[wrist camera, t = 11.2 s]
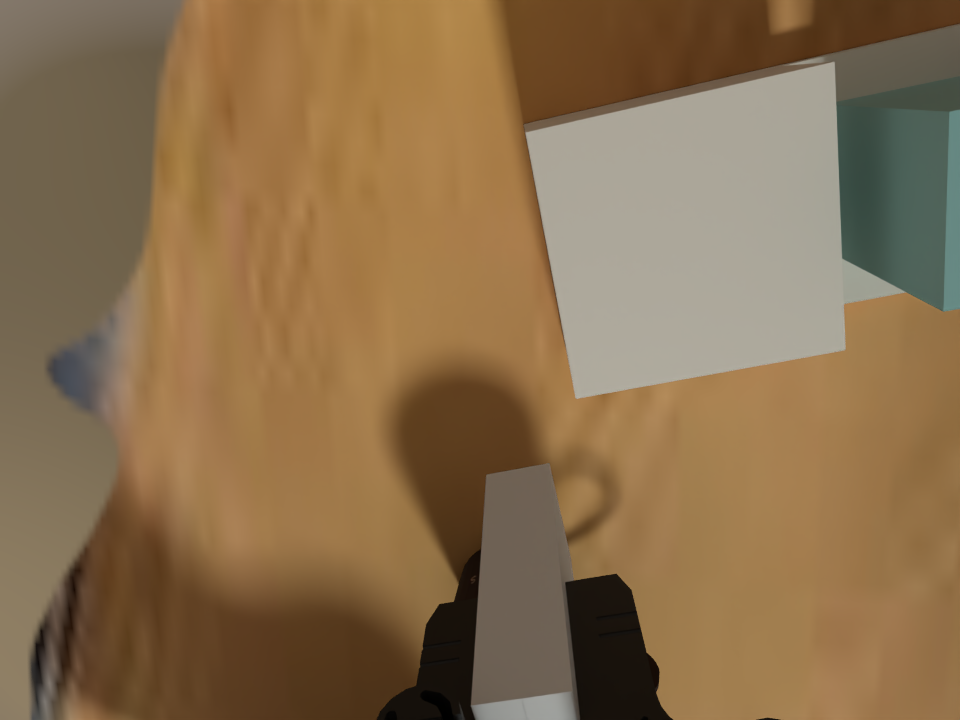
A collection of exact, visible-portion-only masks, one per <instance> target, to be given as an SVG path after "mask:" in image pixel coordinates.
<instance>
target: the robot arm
mask: <svg viewBox="0 0 960 720" xmlns="http://www.w3.org/2000/svg"><path fill="white" fill-rule="evenodd" d="M377 720H673V719H672V718H670V717H669V716H668V715H667V713H666V712H665V711H664V709H663V708H662V707H661V705H660V702H659V700H658V697H657V694H656V690H655V686H654V682H653V678H652V673H651V669H650V665H649V661H648V657H647V653H646V648H645V644H644V640H643V636H642V632H641V628H640V624H639V619H638V615H637V611H636V607H635V603H634V599H633V595H632V590H631V589H630V588H629V587H628V586H627V585H626V584H625V583H624V582H623V581H622V579H621V578H620V577H619V576H618V575H617V574H612V575H606V576H600V577H593V578H587V579H581V580H575V581H574V578H573V570H572V563H571V557H570V552H569V548H568V543H567V539H566V535H565V530H564V526H563V521H562V517H561V512H560V508H559V504H558V499H557V495H556V490H555V486H554V481H553V477H552V473H551V468H550V464H549V463H547V464H542V465H536V466H531V467H526V468H520V469H515V470H509V471H504V472H498V473H493V474H487V475H486V486H485V501H484V516H483V531H482V546H481V561H480V576H479V592H478V598H475V599H469V600H462V601H456V602H450V603H444V604H439V606H438V607H437V609H436V610H435V612H434V613H433V615H432V616H431V618H430V619H429V621H428V623H427V624H426V629H425V635H424V642H423V650H422V654H421V660H420V668H419V673H418V679H417V685H416V686H415V687H412V688H408V689H406V690H404V691H403V692H401V693H400V694H398V695H396V696H395V697H393V698H392V699H391V700H390V701H389V702H388V703H387V704H386V706H385V707H384V708H383V709H382V710H381V711H380V713H379V716H378V718H377ZM758 720H779V719H772V718H764V719H758Z"/></svg>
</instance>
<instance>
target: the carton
mask: <svg viewBox="0 0 960 720" xmlns="http://www.w3.org/2000/svg"><path fill="white" fill-rule="evenodd" d="M836 110H837V137H838V164H839V191H840V218H841V245H842V259H844V260H846V261H848V262H850V263H851V264H853V265H855V266H857V267H859V268H861V269H863V270H865V271H867V272H869V273H871V274H873V275H874V276H876V277H878V278H880V279H882V280H884V281H886V282H888V283H890V284H892V285H894V286H895V287H897V288H899V289H901V290H903V291H905V292H907V293H909V294H911V295H913V296H915V297H917V298H918V299H920V300H922V301H924V302H926V303H928V304H930V305H932V306H934V307H936V308H938V309H940V310H941V311H943V312H944V311H949V310H955V309H960V76H958V77H953V78H948V79H944V80H939V81H934V82H929V83H924V84H920V85H915V86H910V87H905V88H901V89H896V90H891V91H886V92H881V93H877V94H872V95H867V96H862V97H858V98H853V99H848V100H843V101H838V102H836Z"/></svg>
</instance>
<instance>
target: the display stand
mask: <svg viewBox="0 0 960 720" xmlns="http://www.w3.org/2000/svg"><path fill="white" fill-rule="evenodd" d="M958 76H960V24H956V25H952V26H947V27H943V28H939V29H934V30H930V31H926V32H921V33H917V34H913V35H908V36H904V37H900V38H895V39H891V40H887V41H882V42H878V43H874V44H869V45H865V46H861V47H856V48H852V49H848V50H843V51H839V52H835V53H830V54H826V55H822V56H817V57H813V58H809V59H804V60H800V61H796V62H791V63H787V64H782V65H778V66H774V67H769V68H765V69H761V70H756V71H752V72H748V73H743V74H739V75H735V76H730V77H726V78H722V79H717V80H713V81H709V82H704V83H700V84H696V85H691V86H687V87H683V88H678V89H674V90H670V91H665V92H661V93H657V94H652V95H648V96H644V97H639V98H635V99H631V100H626V101H622V102H618V103H613V104H609V105H605V106H600V107H596V108H592V109H587V110H583V111H579V112H574V113H570V114H566V115H561V116H557V117H553V118H548V119H544V120H540V121H535V122H531V123H527V124H524V130H525V135H526V140H527V146H528V151H529V156H530V161H531V167H532V172H533V177H534V183H535V188H536V193H537V198H538V204H539V209H540V214H541V220H542V225H543V230H544V235H545V241H546V246H547V251H548V257H549V262H550V267H551V272H552V278H553V283H554V288H555V294H556V299H557V304H558V309H559V315H560V320H561V325H562V331H563V336H564V341H565V346H566V351H567V356H568V362H569V367H570V372H571V377H572V382H573V387H574V392H575V397H576V399H577V398H583V397H588V396H594V395H599V394H605V393H611V392H616V391H622V390H627V389H633V388H638V387H644V386H649V385H655V384H660V383H666V382H672V381H677V380H683V379H688V378H694V377H699V376H705V375H710V374H716V373H721V372H727V371H732V370H738V369H744V368H749V367H755V366H760V365H766V364H771V363H777V362H782V361H788V360H793V359H799V358H804V357H810V356H816V355H821V354H827V353H832V352H838V351H843V350H845V325H844V304H846V303H852V302H857V301H862V300H867V299H873V298H878V297H883V296H889V295H894V294H899V293H905V291H903V290H901V289H899V288H897V287H895V286H894V285H892V284H890V283H888V282H886V281H884V280H882V279H880V278H878V277H876V276H874V275H873V274H871V273H869V272H867V271H865V270H863V269H861V268H859V267H857V266H855V265H853V264H851V263H850V262H848V261H846V260H844V259H842V245H841V218H840V191H839V164H838V137H837V110H836V102H838V101H843V100H848V99H853V98H858V97H862V96H867V95H872V94H877V93H881V92H886V91H891V90H896V89H901V88H905V87H910V86H915V85H920V84H924V83H929V82H934V81H939V80H944V79H948V78H953V77H958Z"/></svg>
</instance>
